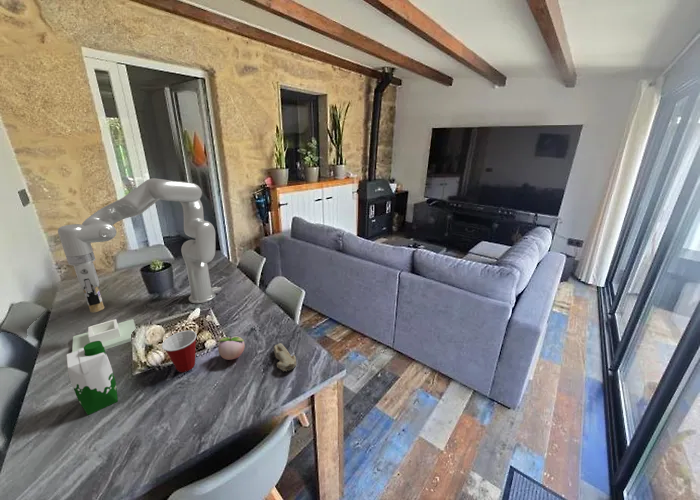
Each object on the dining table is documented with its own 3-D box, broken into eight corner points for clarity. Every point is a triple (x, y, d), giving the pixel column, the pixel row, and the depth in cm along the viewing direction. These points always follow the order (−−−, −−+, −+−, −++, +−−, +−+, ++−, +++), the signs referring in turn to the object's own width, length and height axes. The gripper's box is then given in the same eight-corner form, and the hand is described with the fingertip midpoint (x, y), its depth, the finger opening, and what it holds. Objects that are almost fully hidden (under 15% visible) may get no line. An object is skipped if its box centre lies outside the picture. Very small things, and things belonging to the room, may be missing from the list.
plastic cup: (171, 360, 107) (164, 333, 103) (203, 353, 110) (198, 327, 106) (164, 381, 97) (157, 352, 93) (200, 373, 101) (194, 345, 97)
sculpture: (267, 356, 111) (281, 378, 99) (267, 345, 110) (281, 366, 98) (285, 350, 115) (300, 371, 103) (285, 339, 114) (300, 359, 102)
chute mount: (133, 321, 130) (131, 311, 128) (138, 338, 118) (135, 327, 117) (74, 339, 117) (69, 328, 115) (73, 360, 106) (68, 348, 104)
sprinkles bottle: (104, 310, 113) (94, 279, 108) (88, 314, 110) (78, 282, 106) (105, 305, 116) (96, 275, 112) (90, 308, 114) (80, 277, 109)
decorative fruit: (218, 368, 103) (214, 345, 100) (221, 354, 110) (217, 332, 107) (245, 364, 105) (242, 341, 102) (246, 350, 113) (244, 328, 110)
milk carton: (122, 401, 89) (104, 348, 82) (83, 419, 83) (61, 363, 76) (117, 385, 95) (101, 334, 88) (81, 401, 89) (60, 348, 82)
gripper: (95, 262, 102) (108, 307, 108) (93, 250, 114) (105, 291, 120) (66, 267, 98) (82, 314, 104) (68, 254, 109) (82, 296, 116)
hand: (94, 301), depth 112 cm, fingers closed on sprinkles bottle, 4 cm apart
